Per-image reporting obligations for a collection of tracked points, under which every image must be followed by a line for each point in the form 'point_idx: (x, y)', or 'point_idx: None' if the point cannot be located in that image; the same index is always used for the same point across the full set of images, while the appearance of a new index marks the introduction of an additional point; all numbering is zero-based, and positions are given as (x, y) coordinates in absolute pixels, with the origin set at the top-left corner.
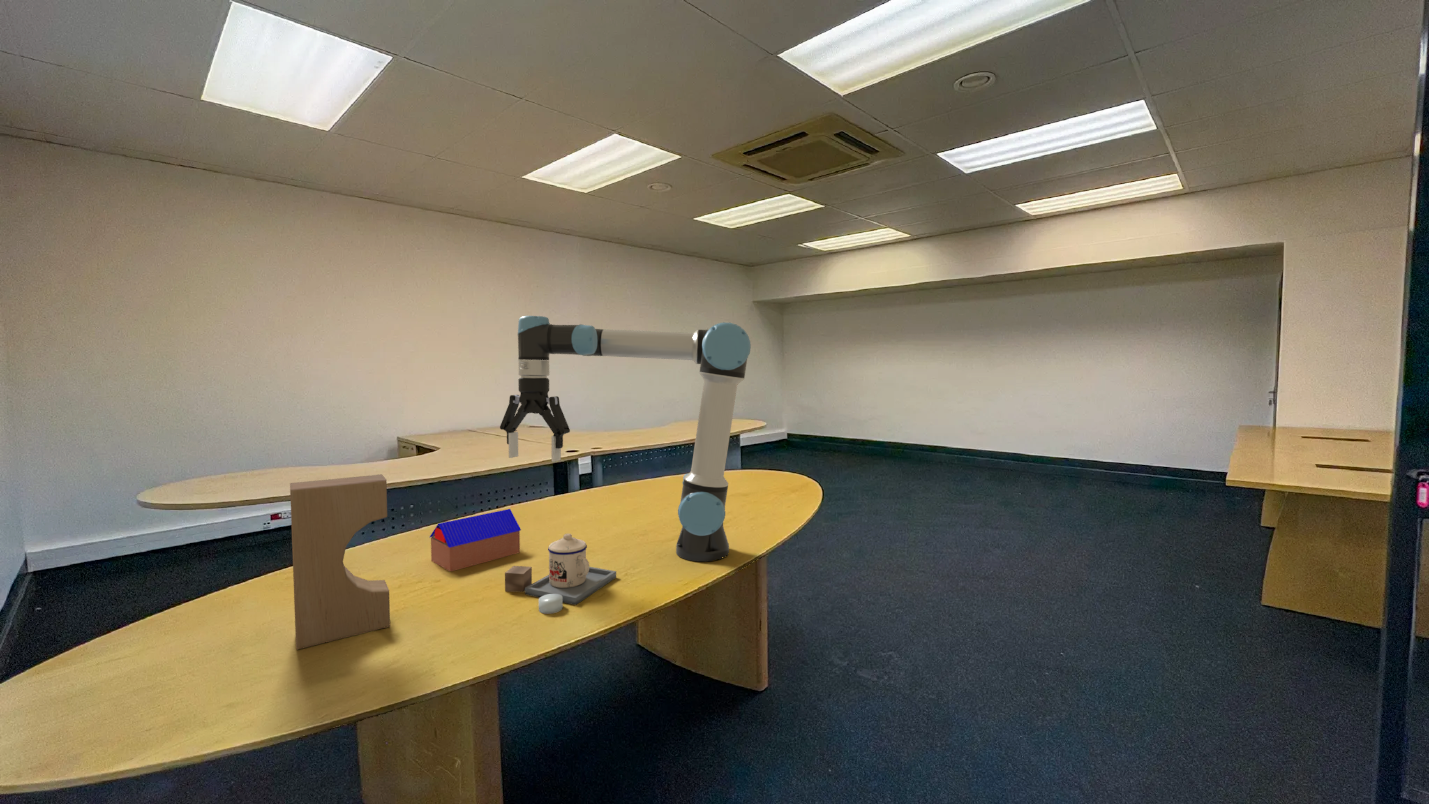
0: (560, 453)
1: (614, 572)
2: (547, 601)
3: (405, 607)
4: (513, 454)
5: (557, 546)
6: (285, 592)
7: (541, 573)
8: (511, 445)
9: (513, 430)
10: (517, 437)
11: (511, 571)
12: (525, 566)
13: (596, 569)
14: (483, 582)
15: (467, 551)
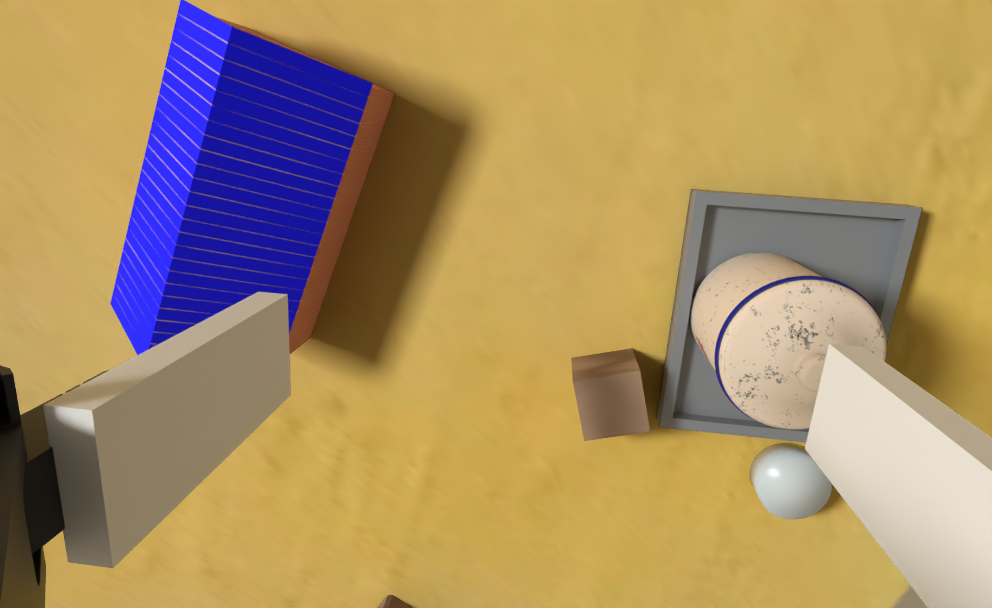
0: (902, 379)
1: (918, 220)
2: (795, 507)
3: (402, 556)
4: (277, 374)
5: (784, 413)
6: (61, 561)
7: (609, 257)
8: (224, 451)
9: (27, 478)
10: (156, 385)
11: (598, 425)
12: (616, 374)
13: (832, 213)
14: (474, 377)
15: (306, 300)
